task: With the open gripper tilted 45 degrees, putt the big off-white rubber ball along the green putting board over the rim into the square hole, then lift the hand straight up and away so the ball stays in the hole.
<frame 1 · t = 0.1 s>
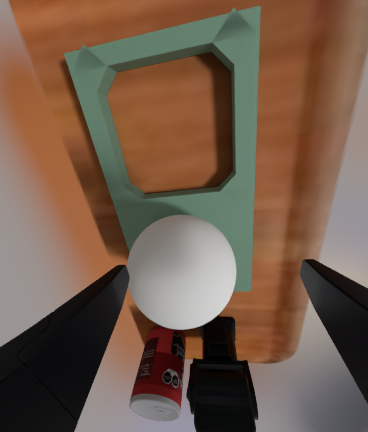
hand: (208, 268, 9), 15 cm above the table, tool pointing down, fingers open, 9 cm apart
ball: (181, 267, 18), point 7 cm above the table, touching putting board
putting board: (182, 195, 23), on the table
canned food: (167, 335, 37), on the table
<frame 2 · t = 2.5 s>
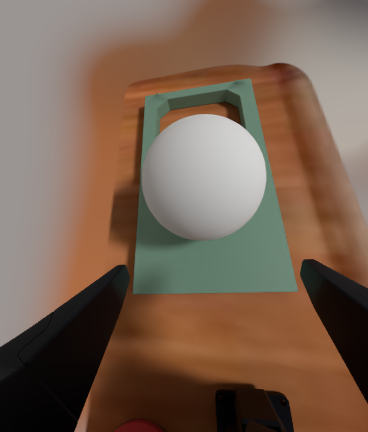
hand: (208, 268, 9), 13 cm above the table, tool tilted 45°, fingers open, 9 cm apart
ball: (201, 181, 17), point 7 cm above the table, touching putting board
putting board: (202, 176, 25), on the table
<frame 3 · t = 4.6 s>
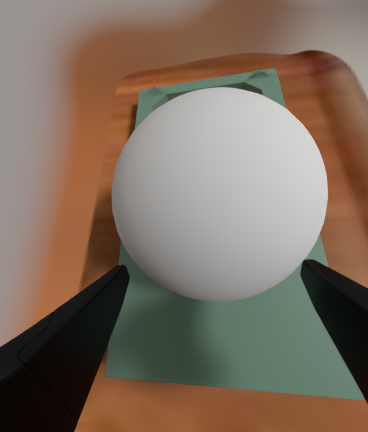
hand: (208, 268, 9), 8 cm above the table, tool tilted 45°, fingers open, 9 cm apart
ball: (210, 200, 11), point 7 cm above the table, tilted 14°, touching putting board
putting board: (210, 196, 19), on the table
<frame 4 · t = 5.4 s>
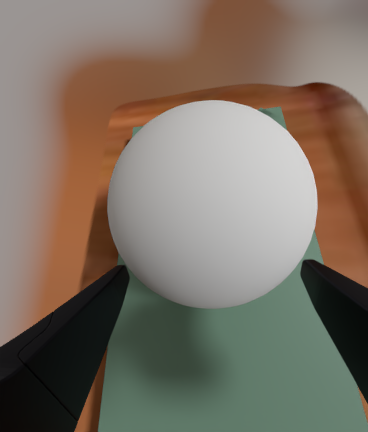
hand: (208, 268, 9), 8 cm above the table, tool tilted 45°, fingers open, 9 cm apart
ball: (205, 207, 11), point 7 cm above the table, tilted 72°, touching putting board
putting board: (211, 252, 17), on the table
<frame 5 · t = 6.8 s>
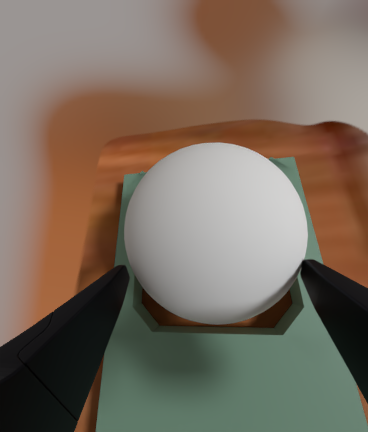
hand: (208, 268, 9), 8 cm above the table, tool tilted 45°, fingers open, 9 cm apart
ball: (209, 229, 12), point 5 cm above the table, tilted 142°, touching gripper
putting board: (214, 337, 15), on the table
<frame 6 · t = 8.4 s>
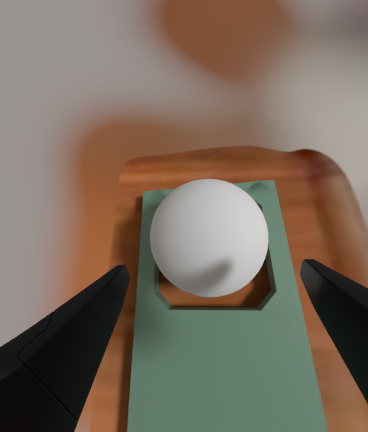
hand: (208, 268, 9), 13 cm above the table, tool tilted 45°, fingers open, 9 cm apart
ball: (206, 235, 17), point 5 cm above the table, tilted 143°
putting board: (213, 314, 20), on the table
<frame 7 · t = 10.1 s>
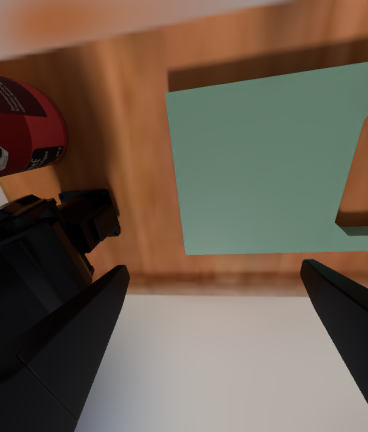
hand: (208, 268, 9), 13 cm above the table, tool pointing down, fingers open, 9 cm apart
putting board: (325, 173, 18), on the table
canned food: (37, 127, 19), on the table
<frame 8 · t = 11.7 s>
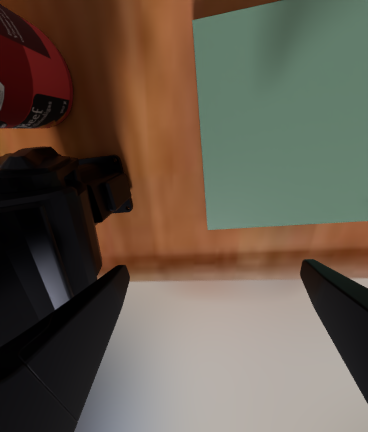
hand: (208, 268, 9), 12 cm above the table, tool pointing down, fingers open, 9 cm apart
canned food: (38, 82, 17), on the table
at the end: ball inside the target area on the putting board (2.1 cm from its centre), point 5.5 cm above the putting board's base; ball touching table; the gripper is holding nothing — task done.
